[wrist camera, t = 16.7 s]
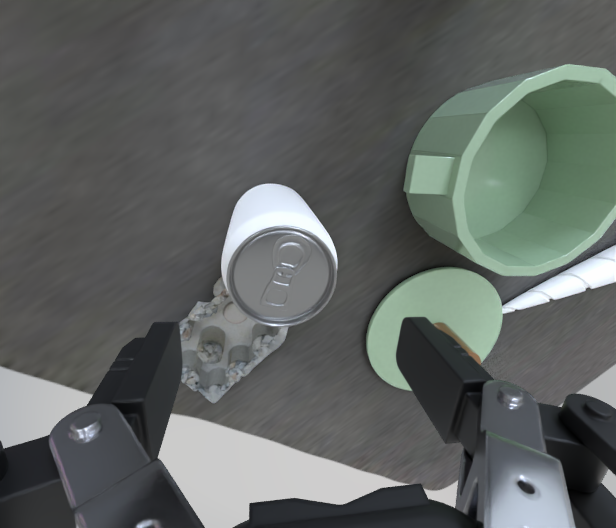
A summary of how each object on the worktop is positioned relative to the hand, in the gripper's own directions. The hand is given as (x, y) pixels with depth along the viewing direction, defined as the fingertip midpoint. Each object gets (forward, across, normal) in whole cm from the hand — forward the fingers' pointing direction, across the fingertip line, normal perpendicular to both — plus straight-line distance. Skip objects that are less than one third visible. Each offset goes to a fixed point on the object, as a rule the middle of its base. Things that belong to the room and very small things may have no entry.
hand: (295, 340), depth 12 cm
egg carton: (+18, +4, +10) cm, 20 cm away
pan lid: (+17, -17, +11) cm, 26 cm away
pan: (+17, -18, -5) cm, 25 cm away
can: (+17, 0, 0) cm, 17 cm away
